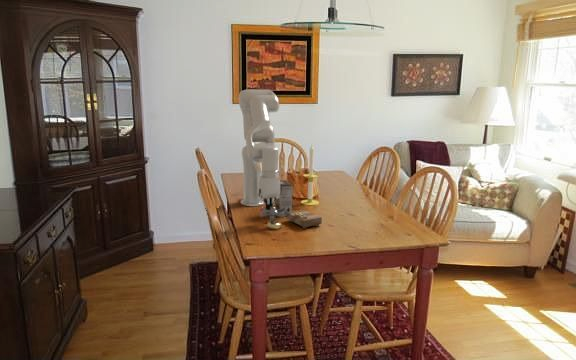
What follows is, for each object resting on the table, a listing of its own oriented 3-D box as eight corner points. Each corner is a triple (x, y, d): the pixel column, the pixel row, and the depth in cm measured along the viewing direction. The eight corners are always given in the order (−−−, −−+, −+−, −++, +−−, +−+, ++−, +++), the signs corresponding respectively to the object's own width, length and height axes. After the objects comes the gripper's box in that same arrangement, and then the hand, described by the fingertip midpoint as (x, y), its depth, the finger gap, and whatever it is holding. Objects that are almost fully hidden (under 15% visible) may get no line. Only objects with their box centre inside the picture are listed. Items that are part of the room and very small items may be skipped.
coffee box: (273, 211, 235) (274, 180, 231) (285, 210, 237) (286, 179, 233) (279, 216, 226) (280, 184, 222) (292, 215, 228) (293, 184, 225)
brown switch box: (287, 220, 220) (287, 209, 219) (304, 217, 225) (304, 206, 224) (303, 229, 209) (304, 217, 207) (321, 226, 214) (321, 214, 213)
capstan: (247, 224, 212) (247, 205, 210) (271, 218, 222) (272, 200, 220) (271, 234, 201) (271, 214, 199) (295, 226, 211) (296, 207, 209)
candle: (309, 206, 244) (311, 146, 236) (297, 202, 252) (298, 143, 244) (322, 203, 250) (325, 144, 243) (310, 199, 258) (312, 141, 250)
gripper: (278, 170, 218) (277, 206, 222) (251, 173, 209) (251, 211, 214) (287, 173, 212) (286, 211, 216) (260, 177, 203) (259, 216, 208)
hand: (269, 211), depth 215 cm, fingers closed
